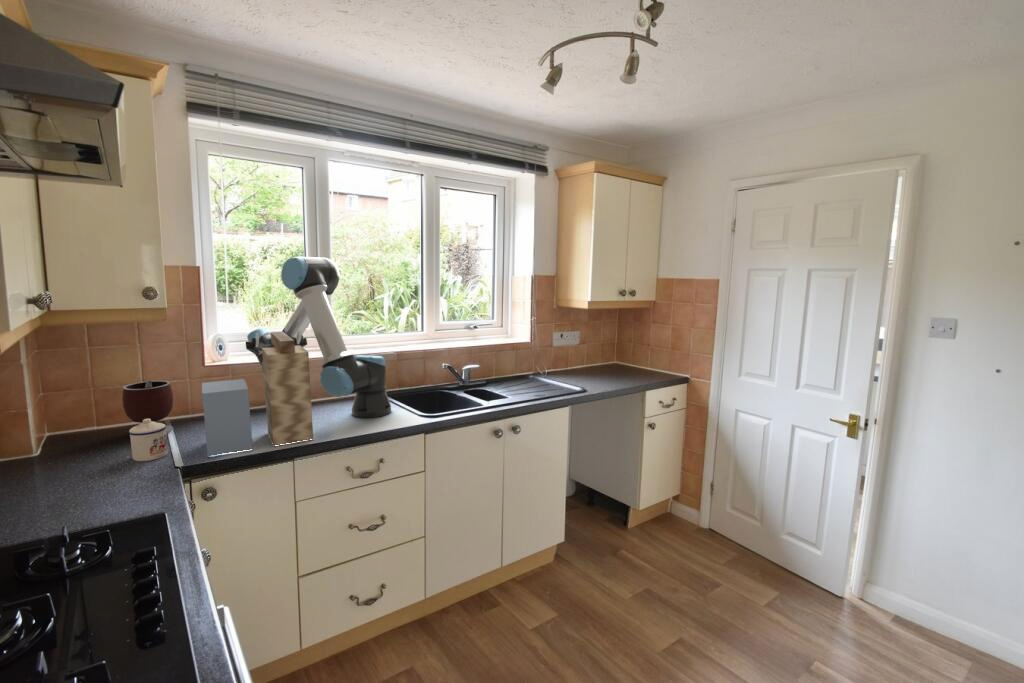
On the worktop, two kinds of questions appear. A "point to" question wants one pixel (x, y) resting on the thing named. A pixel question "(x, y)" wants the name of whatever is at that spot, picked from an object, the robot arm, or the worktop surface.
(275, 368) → the oak stand
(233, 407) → the slate base
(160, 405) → the mate gourd
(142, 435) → the teacup with lid
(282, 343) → the walnut bar
